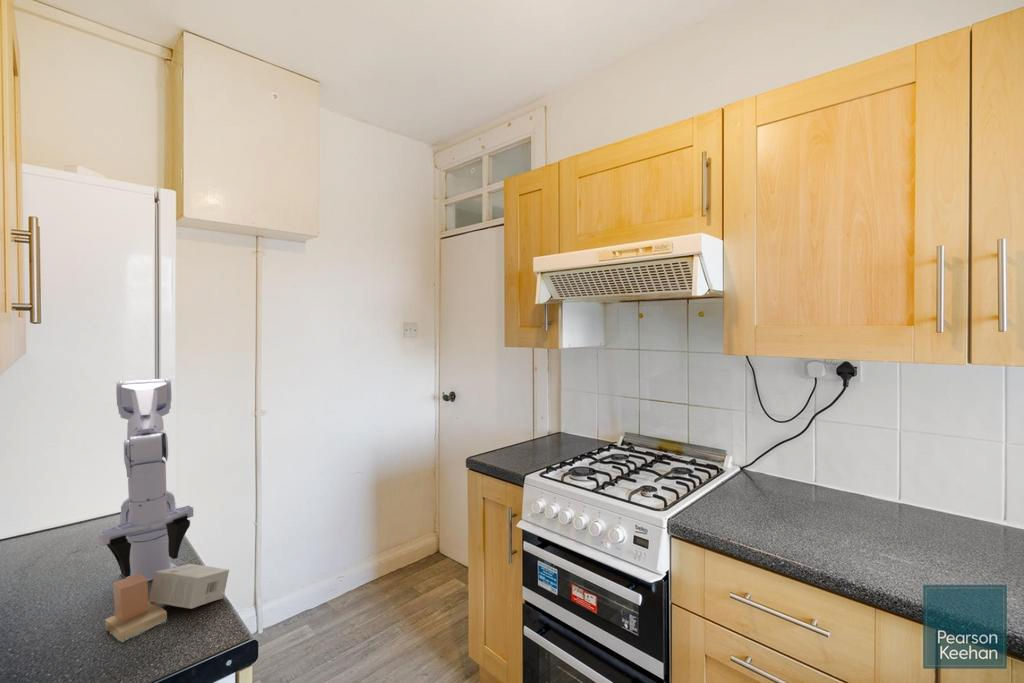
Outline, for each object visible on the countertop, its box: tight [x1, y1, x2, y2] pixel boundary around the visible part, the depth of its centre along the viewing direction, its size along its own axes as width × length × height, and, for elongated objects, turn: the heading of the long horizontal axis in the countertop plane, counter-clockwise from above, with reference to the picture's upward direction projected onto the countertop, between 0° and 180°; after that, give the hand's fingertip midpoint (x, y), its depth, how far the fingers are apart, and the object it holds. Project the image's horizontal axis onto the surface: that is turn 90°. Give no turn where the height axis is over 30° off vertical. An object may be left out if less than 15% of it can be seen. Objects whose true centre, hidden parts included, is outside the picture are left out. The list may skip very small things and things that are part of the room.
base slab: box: [104, 602, 168, 641], centre depth 86 cm, size 7×7×2 cm
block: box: [112, 573, 149, 622], centre depth 87 cm, size 4×4×6 cm
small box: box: [148, 563, 230, 610], centre depth 93 cm, size 8×6×10 cm
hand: (150, 565), depth 89 cm, fingers open, 7 cm apart
